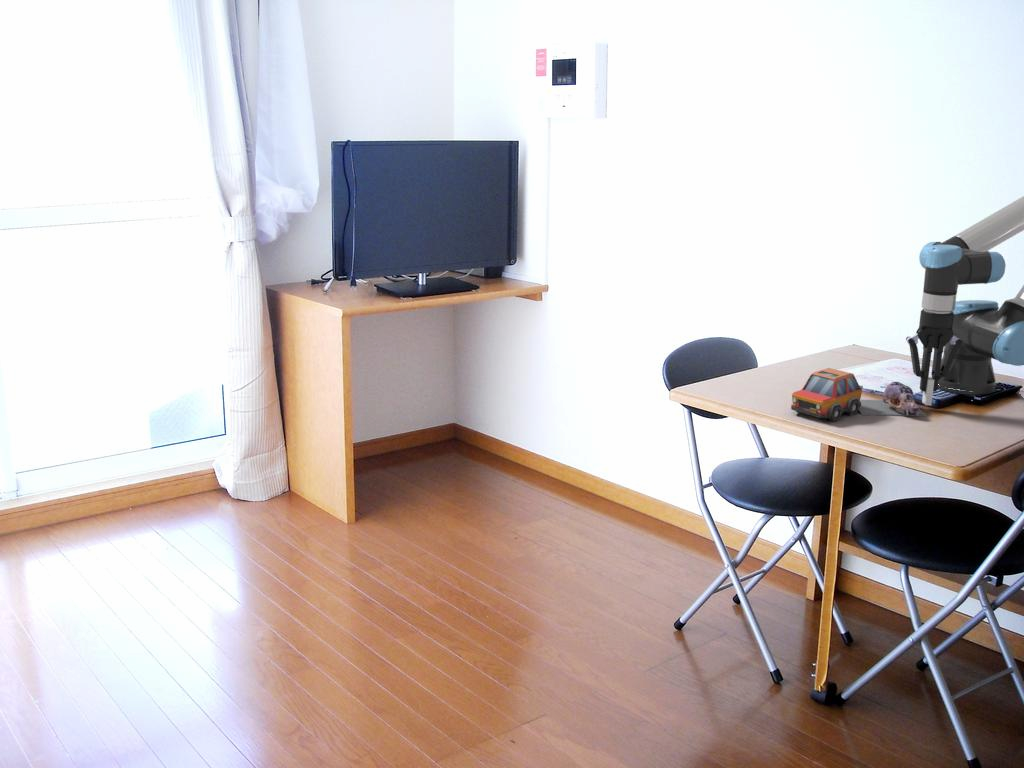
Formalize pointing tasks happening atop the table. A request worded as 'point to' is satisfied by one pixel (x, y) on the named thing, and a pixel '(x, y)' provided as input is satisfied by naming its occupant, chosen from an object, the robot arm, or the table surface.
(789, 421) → the table surface
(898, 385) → the skull
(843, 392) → the toy car
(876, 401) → the chock mat
